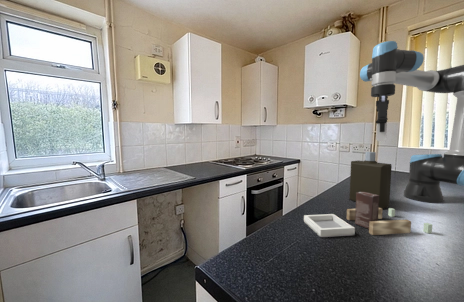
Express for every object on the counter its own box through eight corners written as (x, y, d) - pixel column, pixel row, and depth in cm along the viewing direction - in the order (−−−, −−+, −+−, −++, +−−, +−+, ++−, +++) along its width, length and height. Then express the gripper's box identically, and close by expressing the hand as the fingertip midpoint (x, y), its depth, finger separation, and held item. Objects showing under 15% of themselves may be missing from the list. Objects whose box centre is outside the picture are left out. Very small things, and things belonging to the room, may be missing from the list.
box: (378, 227, 73) (380, 195, 72) (370, 230, 71) (372, 196, 70) (361, 221, 79) (362, 190, 78) (353, 223, 77) (355, 192, 76)
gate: (391, 215, 84) (391, 208, 84) (431, 233, 69) (432, 224, 69) (388, 215, 84) (388, 208, 84) (427, 233, 69) (428, 224, 69)
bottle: (381, 210, 90) (385, 153, 88) (346, 200, 104) (349, 151, 102) (391, 207, 93) (394, 153, 91) (356, 197, 108) (358, 150, 105)
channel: (378, 217, 83) (379, 207, 82) (410, 232, 69) (411, 221, 69) (346, 218, 81) (346, 209, 81) (372, 235, 68) (373, 223, 68)
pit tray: (333, 220, 80) (333, 213, 80) (354, 235, 68) (354, 227, 68) (303, 221, 79) (304, 215, 78) (320, 237, 67) (320, 229, 67)
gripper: (371, 91, 91) (369, 139, 93) (371, 80, 71) (369, 141, 72) (392, 89, 87) (390, 139, 89) (399, 76, 66) (396, 141, 68)
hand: (380, 140), depth 81 cm, fingers open, 13 cm apart
